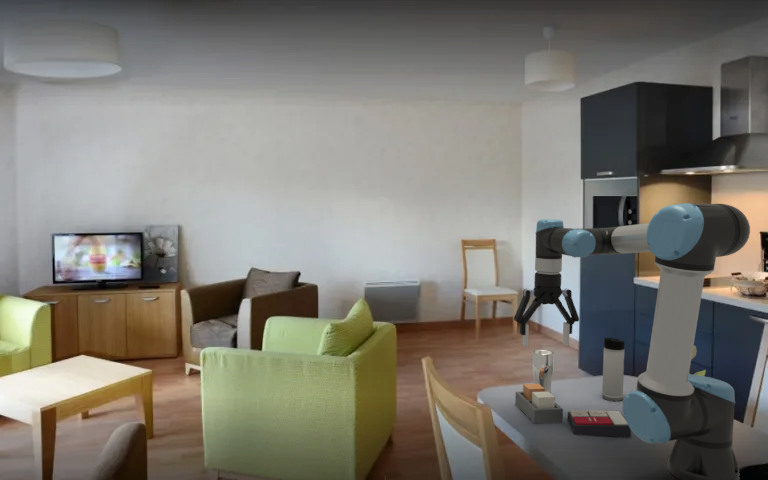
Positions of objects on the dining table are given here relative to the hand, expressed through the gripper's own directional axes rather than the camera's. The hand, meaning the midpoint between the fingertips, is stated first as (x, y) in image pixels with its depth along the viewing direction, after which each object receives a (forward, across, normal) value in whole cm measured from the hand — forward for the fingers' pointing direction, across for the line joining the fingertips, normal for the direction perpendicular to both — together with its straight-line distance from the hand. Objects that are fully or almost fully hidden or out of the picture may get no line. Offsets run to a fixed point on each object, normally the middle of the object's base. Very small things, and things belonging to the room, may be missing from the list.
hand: (545, 345), depth 178 cm
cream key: (+19, 0, 0) cm, 19 cm away
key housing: (+22, 0, -4) cm, 22 cm away
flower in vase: (+22, -38, +14) cm, 46 cm away
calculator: (+22, -12, +10) cm, 27 cm away
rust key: (+19, 0, -7) cm, 20 cm away
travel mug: (+22, -29, -14) cm, 39 cm away
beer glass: (+22, -7, -17) cm, 29 cm away
